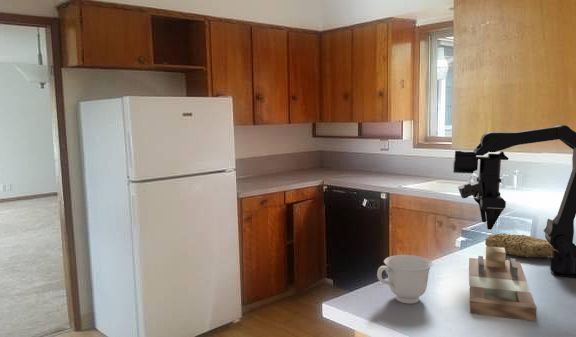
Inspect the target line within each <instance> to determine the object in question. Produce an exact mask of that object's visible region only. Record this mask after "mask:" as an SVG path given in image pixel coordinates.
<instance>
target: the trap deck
mask: <svg viewBox="0 0 576 337" xmlns="http://www.w3.org/2000/svg"><path fill="white" fill-rule="evenodd" d="M477 257H478V258H475V257H469V258H468V275H469V276H468V277H469V279H468V282H469V285H468V286H470V288H469V313H470V314H474V313H477V314H476V315H484V316H492V317H501V318H509V319H517V320H525V321H533V322H536V321H537V307H536V303H535V300H534V298H533V294H532V292H531V289H530V287H529V284H528V281H527V278H526V275H525V273H524V269H523V266H522V264H521V262H520V261H516V258H512V257H511V258H509V260H505V268H500V267H489V266H486V261H485V260H486V258H484V256H483V255H478V256H477Z"/></svg>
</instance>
